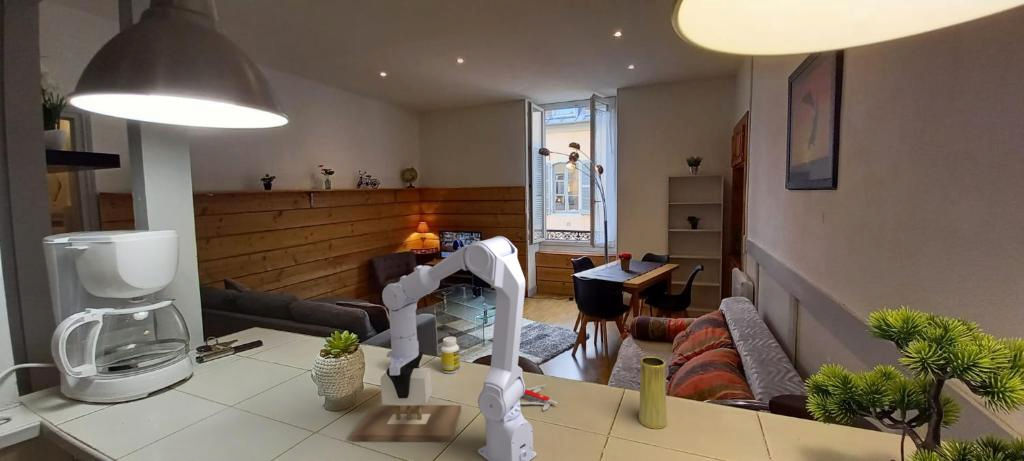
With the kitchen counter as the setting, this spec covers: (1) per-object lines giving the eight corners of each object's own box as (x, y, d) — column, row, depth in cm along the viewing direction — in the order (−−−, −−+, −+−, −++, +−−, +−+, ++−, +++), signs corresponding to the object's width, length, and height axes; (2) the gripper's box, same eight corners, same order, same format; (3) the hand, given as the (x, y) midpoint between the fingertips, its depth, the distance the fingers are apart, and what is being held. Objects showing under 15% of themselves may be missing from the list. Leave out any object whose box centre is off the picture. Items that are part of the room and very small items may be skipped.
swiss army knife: (569, 397, 102) (569, 389, 102) (541, 421, 91) (541, 413, 91) (533, 385, 109) (532, 378, 109) (502, 406, 98) (502, 399, 98)
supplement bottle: (456, 374, 116) (454, 342, 115) (439, 373, 118) (437, 341, 117) (462, 366, 122) (460, 335, 121) (445, 365, 123) (444, 335, 122)
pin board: (461, 410, 97) (460, 393, 97) (451, 441, 85) (450, 422, 85) (373, 411, 98) (372, 393, 98) (351, 441, 86) (349, 422, 86)
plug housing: (431, 392, 93) (430, 368, 93) (426, 404, 88) (424, 378, 88) (390, 392, 94) (388, 368, 93) (382, 404, 89) (380, 378, 88)
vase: (649, 431, 86) (649, 368, 85) (633, 416, 92) (633, 357, 91) (673, 426, 88) (673, 364, 87) (656, 411, 94) (656, 353, 92)
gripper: (397, 323, 97) (400, 376, 98) (373, 346, 83) (377, 408, 84) (425, 322, 97) (428, 376, 98) (406, 346, 82) (410, 408, 83)
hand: (407, 391), depth 91 cm, fingers closed on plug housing, 5 cm apart
